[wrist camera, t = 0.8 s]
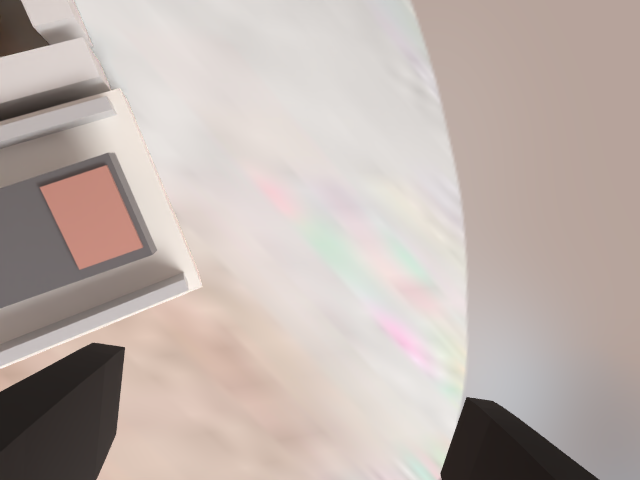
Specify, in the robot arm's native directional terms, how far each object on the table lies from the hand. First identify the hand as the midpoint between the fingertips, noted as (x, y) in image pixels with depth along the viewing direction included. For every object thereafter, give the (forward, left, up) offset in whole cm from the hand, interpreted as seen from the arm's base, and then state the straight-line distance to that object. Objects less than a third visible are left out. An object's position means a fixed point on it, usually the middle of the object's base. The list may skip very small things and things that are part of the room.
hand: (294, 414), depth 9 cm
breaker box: (-6, +5, -15) cm, 17 cm away
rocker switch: (-6, +5, -10) cm, 13 cm away
